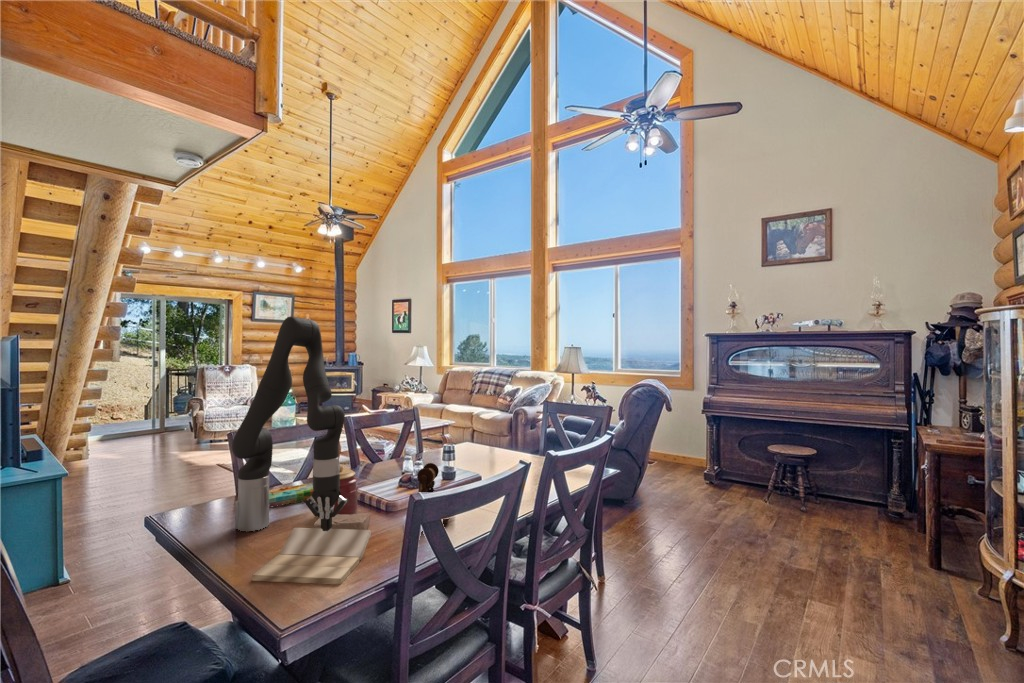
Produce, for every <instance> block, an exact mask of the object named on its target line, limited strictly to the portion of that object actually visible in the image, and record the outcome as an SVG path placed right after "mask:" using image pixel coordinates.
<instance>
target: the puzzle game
mask: <svg viewBox="0 0 1024 683" xmlns="http://www.w3.org/2000/svg"><path fill="white" fill-rule="evenodd" d="M312 493H313V482H309V483H304V484H298V485H292V486H286V487H285V486H282V487H280V488H275V489H274V488H273V489H269V507H271V506H276V507H278V506H277V505H281V506H283V505H282V504H286V505H290V504H289V503H291V504H295V502H296V503H301V501H302V502H305V500H307V499H308V498H310V497H311V496H312Z"/></svg>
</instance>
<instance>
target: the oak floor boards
mask: <svg viewBox="0 0 1024 683" xmlns="http://www.w3.org/2000/svg"><path fill="white" fill-rule="evenodd" d="M359 564H360V560H359V557H333V556H306V555H280V553H279V554H277V555H275V557H273V558H272V559H271V560H270V561H268V562H267V563H266V564H264V565H263V566H262V567H261V568H259V569H258V570H256V571H255V572H254V573H253V574H252V576H251V577H252V579H251V580H252V582H253V581H254V582H274V583H275V582H277V583H280V582H281V583H301V584H320V585H321V584H324V585H327V584H328V585H342V583H344V581H345V579H347V577H348V576H349V575H350V574H351V573H352V572H353V570H355V568H356V567H357V566H358V565H359Z"/></svg>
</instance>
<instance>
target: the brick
mask: <svg viewBox="0 0 1024 683" xmlns="http://www.w3.org/2000/svg"><path fill="white" fill-rule="evenodd" d="M370 521H371V515H370V513H365V512H364V513H363V512H362V513H361V512H360V513H355V514H351V515H349V514H348V515H346V514H344V515H340V514H337V515H336V516H335V517H332V527H331V528H330V529H354V530H368V528H369V526H370ZM312 528H321V518H320V517H318V518H317V520H316V521H315V522H314V523H313V527H312Z"/></svg>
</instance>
